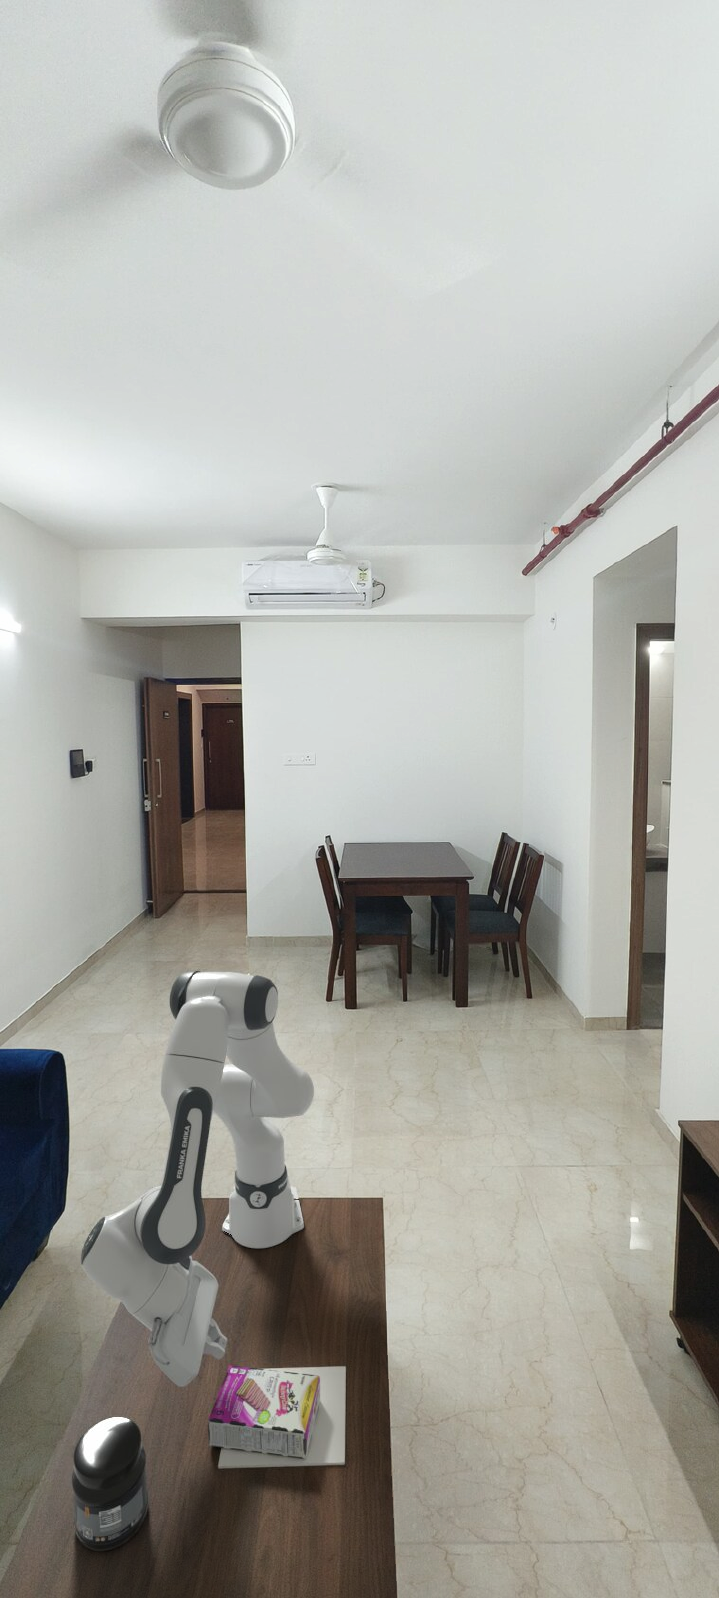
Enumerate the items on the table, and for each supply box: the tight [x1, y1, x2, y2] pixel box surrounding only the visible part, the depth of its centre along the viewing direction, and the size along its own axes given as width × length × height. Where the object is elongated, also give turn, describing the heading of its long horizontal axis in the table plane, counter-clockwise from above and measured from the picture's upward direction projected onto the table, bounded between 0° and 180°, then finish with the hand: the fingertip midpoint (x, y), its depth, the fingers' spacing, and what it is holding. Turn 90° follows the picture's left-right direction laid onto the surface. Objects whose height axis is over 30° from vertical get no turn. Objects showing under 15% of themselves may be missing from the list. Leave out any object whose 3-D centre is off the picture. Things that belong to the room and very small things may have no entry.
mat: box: [217, 1365, 347, 1469], centre depth 130 cm, size 18×20×1 cm
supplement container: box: [70, 1416, 149, 1552], centre depth 114 cm, size 10×10×12 cm
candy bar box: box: [207, 1364, 320, 1459], centre depth 128 cm, size 11×5×16 cm
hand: (223, 1350), depth 129 cm, fingers closed
